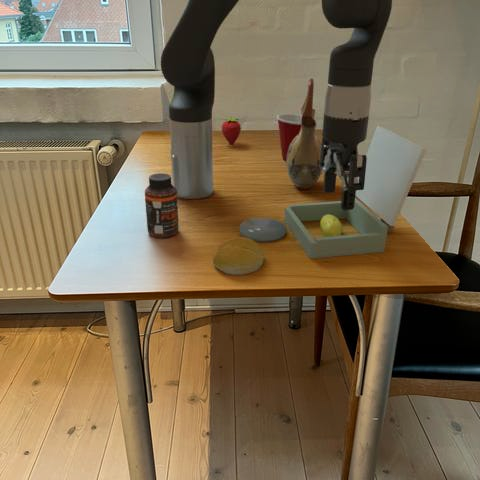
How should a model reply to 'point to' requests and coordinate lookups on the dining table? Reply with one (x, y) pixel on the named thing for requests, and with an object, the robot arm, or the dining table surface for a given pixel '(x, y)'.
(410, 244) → the dining table surface
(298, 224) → the frame
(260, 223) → the saucer
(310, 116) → the ceramic vessel
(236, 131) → the strawberry
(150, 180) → the supplement bottle
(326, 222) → the yellow oblong lump
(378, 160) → the lid
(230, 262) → the bread roll
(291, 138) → the plastic cup
